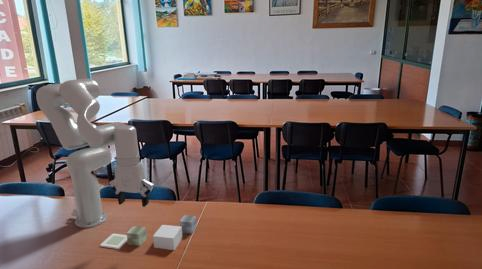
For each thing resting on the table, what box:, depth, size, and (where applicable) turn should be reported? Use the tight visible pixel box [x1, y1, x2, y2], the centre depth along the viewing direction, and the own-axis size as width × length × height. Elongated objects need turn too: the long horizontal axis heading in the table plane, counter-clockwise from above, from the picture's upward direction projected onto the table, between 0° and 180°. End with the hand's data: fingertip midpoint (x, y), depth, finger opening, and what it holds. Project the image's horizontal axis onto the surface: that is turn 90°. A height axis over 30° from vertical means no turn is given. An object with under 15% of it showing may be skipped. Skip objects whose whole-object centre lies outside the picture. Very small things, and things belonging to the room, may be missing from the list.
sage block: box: [126, 225, 148, 247], centre depth 125 cm, size 5×5×5 cm
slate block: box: [179, 214, 198, 235], centre depth 132 cm, size 5×5×5 cm
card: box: [99, 233, 128, 250], centre depth 125 cm, size 8×8×1 cm
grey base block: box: [152, 224, 183, 251], centre depth 124 cm, size 8×8×5 cm
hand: (133, 204), depth 121 cm, fingers open, 9 cm apart
